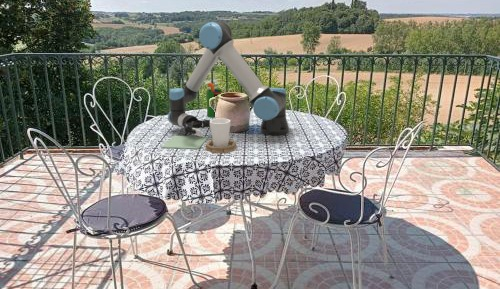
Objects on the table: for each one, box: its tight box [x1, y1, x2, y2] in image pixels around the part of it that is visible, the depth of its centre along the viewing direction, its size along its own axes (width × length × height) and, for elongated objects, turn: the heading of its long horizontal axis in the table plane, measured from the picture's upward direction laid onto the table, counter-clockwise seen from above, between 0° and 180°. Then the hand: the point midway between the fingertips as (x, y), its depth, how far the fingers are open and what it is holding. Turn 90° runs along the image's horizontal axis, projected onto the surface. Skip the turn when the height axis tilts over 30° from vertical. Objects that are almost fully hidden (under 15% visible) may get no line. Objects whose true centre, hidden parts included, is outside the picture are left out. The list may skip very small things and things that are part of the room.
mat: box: [161, 135, 209, 150], centre depth 191 cm, size 18×18×1 cm
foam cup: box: [209, 117, 231, 148], centre depth 180 cm, size 10×9×13 cm
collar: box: [205, 139, 237, 154], centre depth 182 cm, size 13×13×2 cm
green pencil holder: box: [205, 82, 222, 119], centre depth 238 cm, size 10×9×20 cm
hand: (212, 130), depth 184 cm, fingers open, 13 cm apart
